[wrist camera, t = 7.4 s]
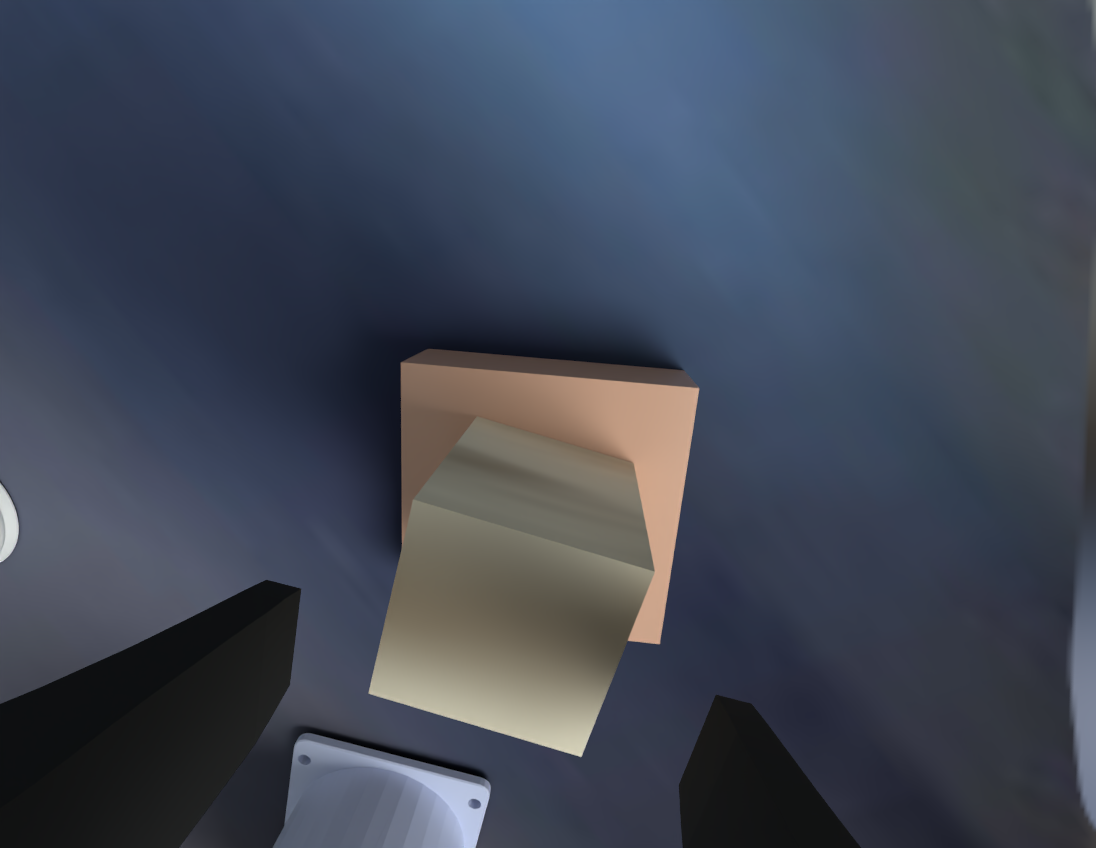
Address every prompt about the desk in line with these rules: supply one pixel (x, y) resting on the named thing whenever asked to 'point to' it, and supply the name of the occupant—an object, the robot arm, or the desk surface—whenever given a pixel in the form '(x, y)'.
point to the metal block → (516, 586)
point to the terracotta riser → (560, 430)
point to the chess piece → (7, 524)
